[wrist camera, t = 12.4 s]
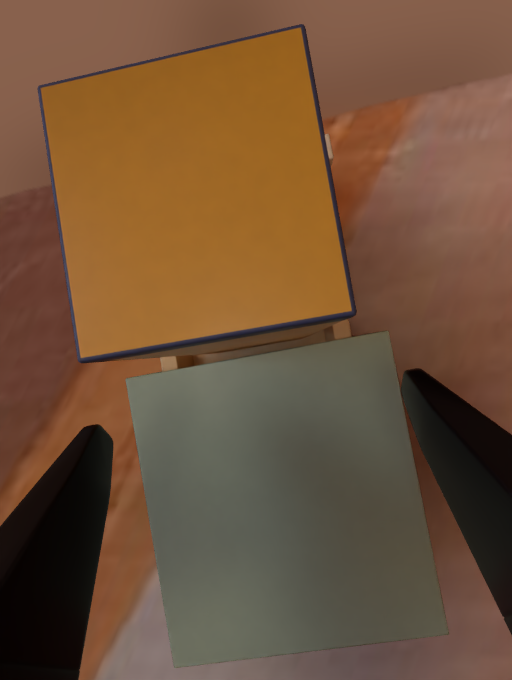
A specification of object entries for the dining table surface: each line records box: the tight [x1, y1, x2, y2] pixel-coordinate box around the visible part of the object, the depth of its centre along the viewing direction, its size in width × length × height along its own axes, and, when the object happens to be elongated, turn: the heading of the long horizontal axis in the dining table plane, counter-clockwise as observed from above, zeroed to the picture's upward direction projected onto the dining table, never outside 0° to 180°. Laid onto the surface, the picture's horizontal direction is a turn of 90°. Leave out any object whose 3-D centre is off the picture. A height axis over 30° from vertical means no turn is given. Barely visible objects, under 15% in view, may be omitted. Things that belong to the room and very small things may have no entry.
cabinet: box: [126, 331, 449, 668], centre depth 17 cm, size 13×12×6 cm
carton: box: [38, 24, 357, 363], centre depth 12 cm, size 5×5×13 cm
